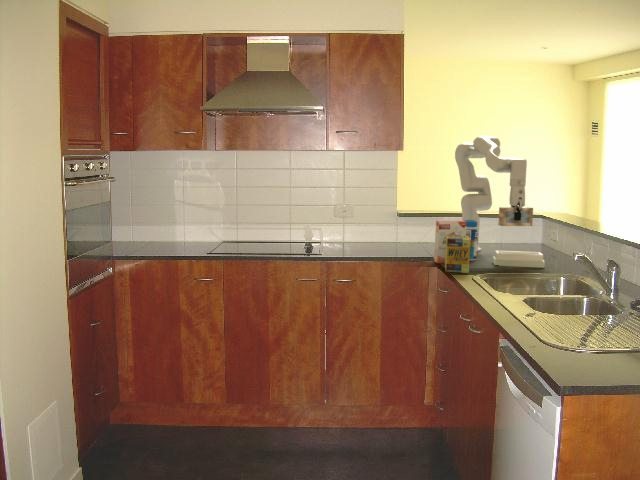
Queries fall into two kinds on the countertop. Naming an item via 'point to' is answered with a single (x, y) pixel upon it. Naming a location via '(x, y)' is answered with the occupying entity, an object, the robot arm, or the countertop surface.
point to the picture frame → (508, 216)
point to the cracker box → (440, 236)
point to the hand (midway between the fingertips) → (515, 219)
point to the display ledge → (519, 259)
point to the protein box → (457, 253)
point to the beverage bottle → (472, 238)
